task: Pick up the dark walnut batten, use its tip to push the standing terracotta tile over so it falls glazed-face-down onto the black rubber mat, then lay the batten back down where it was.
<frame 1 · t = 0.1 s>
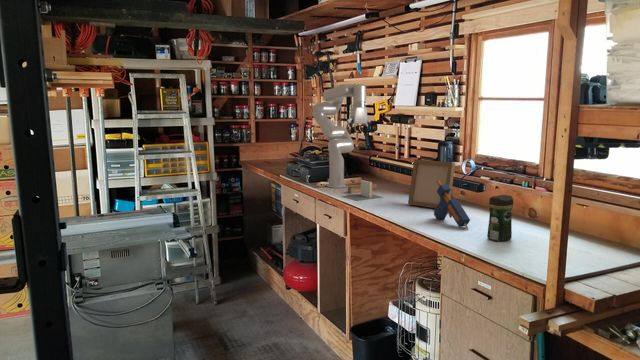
hand: (358, 133, 300), 37 cm above the workbench, tool pointing down, fingers open, 9 cm apart
mat: (362, 197, 290), on the workbench
batten: (362, 193, 306), on the workbench
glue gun: (451, 223, 231), on the workbench
coffee jar: (498, 239, 205), on the workbench
photo frame: (432, 206, 268), on the workbench
tile: (366, 196, 291), point 1 cm above the workbench, touching mat
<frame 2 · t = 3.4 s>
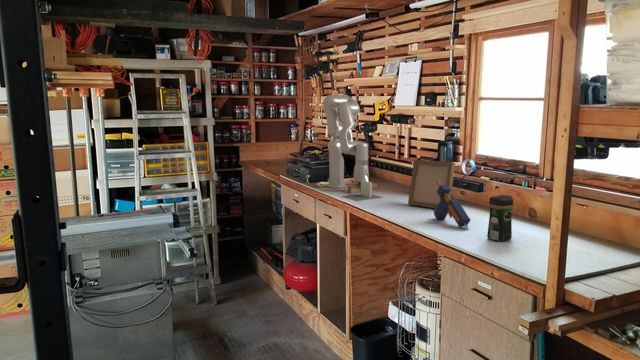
hand: (361, 192, 305), 0 cm above the workbench, tool pointing down, fingers closed on batten, 2 cm apart
batten: (362, 192, 306), on the workbench, touching gripper
everything else where it was.
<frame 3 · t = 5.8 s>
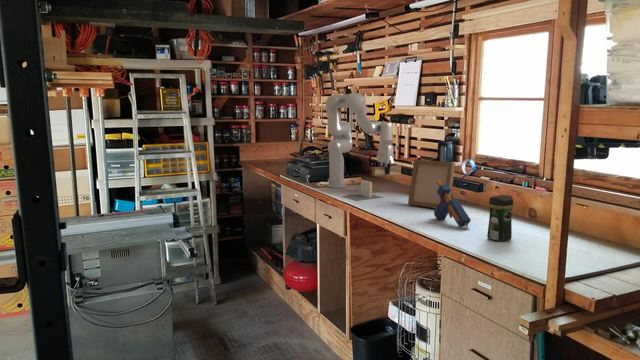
hand: (385, 173, 296), 13 cm above the workbench, tool pointing down, fingers closed on batten, 3 cm apart
batten: (386, 174, 297), point 12 cm above the workbench, touching gripper
everything else where it was.
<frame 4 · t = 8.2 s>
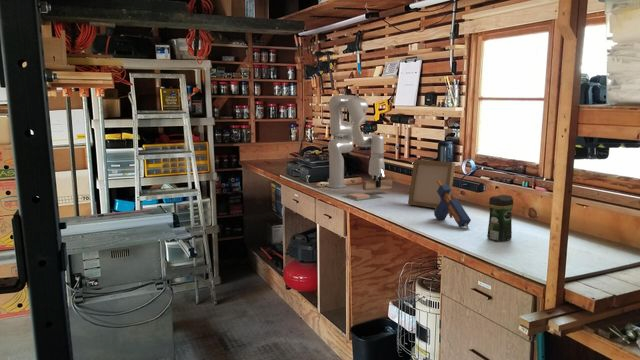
hand: (376, 186, 294), 6 cm above the workbench, tool pointing down, fingers closed on batten, 2 cm apart
batten: (377, 188, 295), point 4 cm above the workbench, touching gripper
tile: (364, 195, 291), point 1 cm above the workbench, tilted 90°, touching mat
everything else where it was.
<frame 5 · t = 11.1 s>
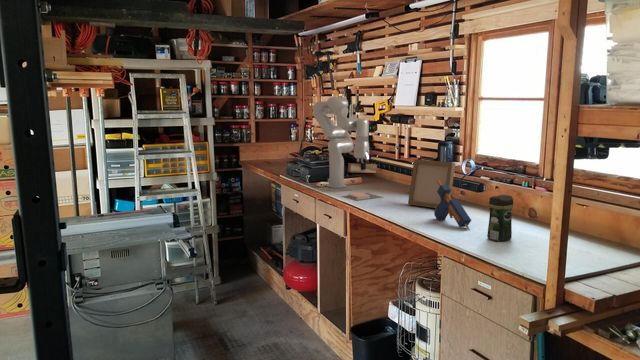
hand: (361, 168, 303), 15 cm above the workbench, tool pointing down, fingers closed on batten, 3 cm apart
batten: (362, 172, 303), point 13 cm above the workbench, tilted 5°, touching gripper
everything else where it was.
when the fingers open (2 cm above the workbench, at t = 13.7 s): batten drops 1 cm, on the workbench.
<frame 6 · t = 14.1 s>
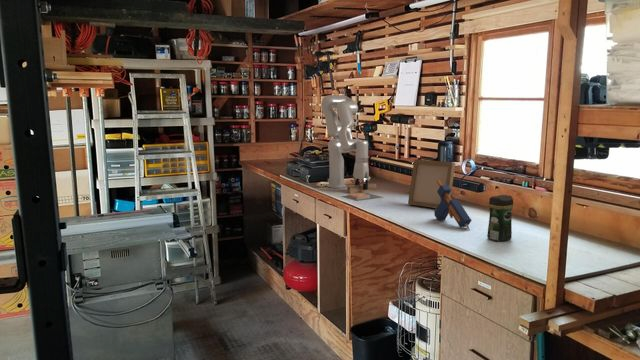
hand: (361, 188, 305), 3 cm above the workbench, tool pointing down, fingers open, 7 cm apart
batten: (361, 193, 306), on the workbench
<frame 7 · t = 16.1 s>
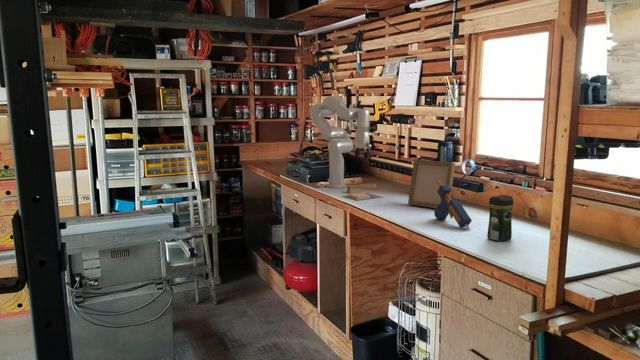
hand: (361, 157, 304), 22 cm above the workbench, tool pointing down, fingers open, 9 cm apart
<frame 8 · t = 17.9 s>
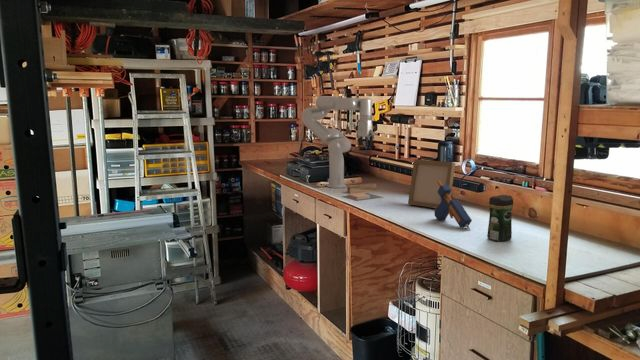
hand: (365, 145, 309), 28 cm above the workbench, tool pointing down, fingers open, 9 cm apart
at the end: tile tilted 90°; tile inside the target area (0.1 cm from its centre), point 1.3 cm above the workbench; batten touching workbench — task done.
